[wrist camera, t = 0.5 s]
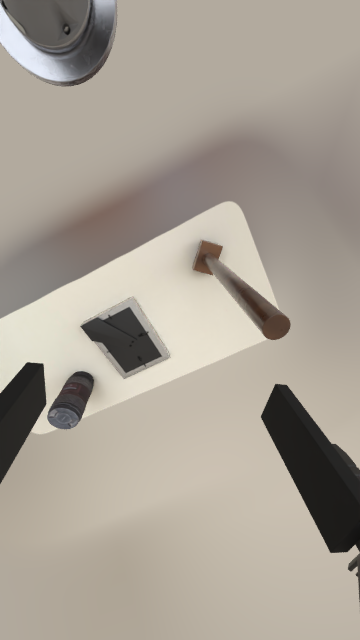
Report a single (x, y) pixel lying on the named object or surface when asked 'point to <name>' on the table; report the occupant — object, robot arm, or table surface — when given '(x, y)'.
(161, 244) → the table surface
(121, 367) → the picture frame
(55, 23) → the robot arm
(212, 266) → the brown piece
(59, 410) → the camera lens
